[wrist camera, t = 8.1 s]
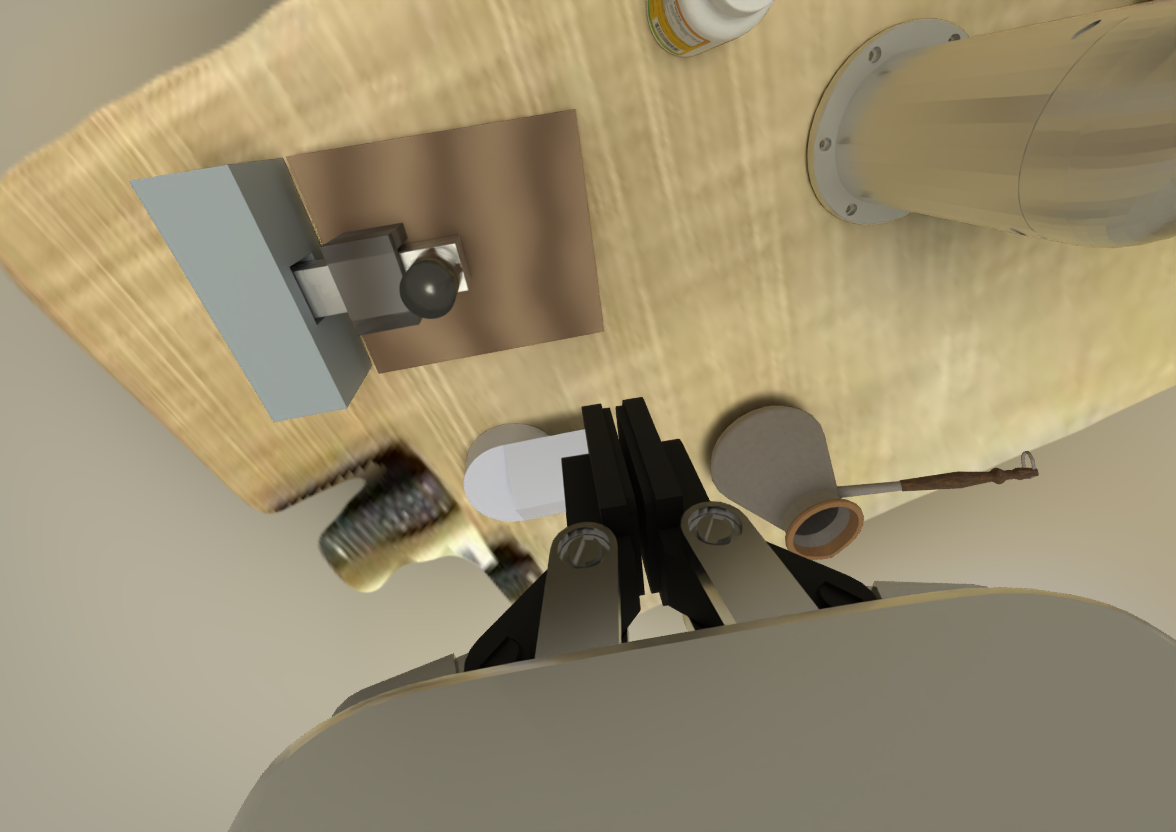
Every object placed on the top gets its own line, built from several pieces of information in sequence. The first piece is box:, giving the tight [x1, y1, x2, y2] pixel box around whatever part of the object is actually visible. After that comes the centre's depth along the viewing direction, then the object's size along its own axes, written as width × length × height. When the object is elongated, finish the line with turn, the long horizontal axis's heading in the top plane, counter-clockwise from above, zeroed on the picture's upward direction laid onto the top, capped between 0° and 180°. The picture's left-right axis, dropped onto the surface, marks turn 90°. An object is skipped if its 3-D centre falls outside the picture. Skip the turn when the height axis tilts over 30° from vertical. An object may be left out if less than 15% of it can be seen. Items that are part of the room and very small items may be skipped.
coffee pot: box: [710, 405, 1038, 560], centre depth 41 cm, size 21×12×15 cm, turn 114°
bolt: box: [290, 235, 471, 319], centre depth 29 cm, size 12×3×8 cm, turn 98°
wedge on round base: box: [464, 424, 588, 522], centre depth 43 cm, size 9×7×13 cm
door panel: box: [286, 109, 604, 374], centre depth 32 cm, size 18×15×6 cm
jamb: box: [129, 158, 372, 422], centre depth 31 cm, size 5×15×7 cm, turn 8°
